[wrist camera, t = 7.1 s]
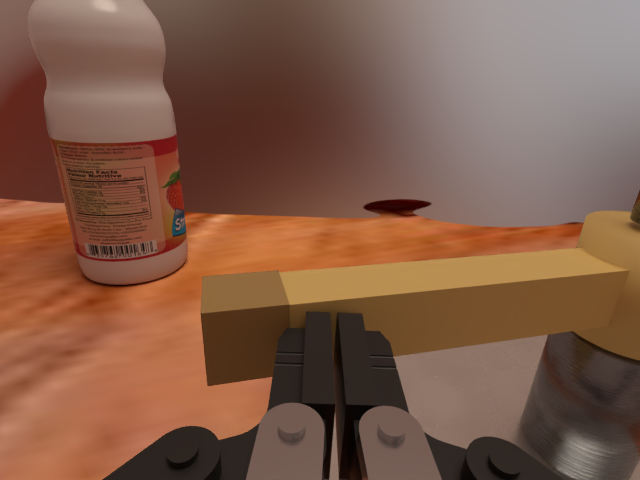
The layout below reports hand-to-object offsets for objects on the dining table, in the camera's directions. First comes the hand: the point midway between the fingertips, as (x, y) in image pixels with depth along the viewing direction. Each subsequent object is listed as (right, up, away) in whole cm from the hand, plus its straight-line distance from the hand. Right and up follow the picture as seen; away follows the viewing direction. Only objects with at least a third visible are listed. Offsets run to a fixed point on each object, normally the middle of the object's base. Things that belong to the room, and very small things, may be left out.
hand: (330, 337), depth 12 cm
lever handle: (+6, -1, +3) cm, 7 cm away
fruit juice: (-18, 0, +26) cm, 31 cm away
